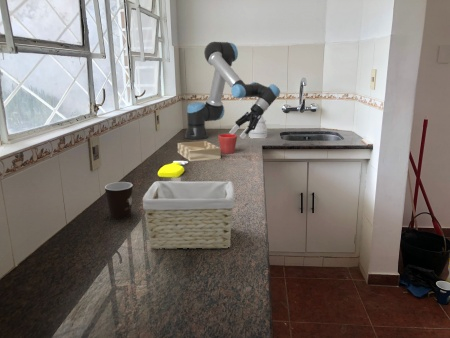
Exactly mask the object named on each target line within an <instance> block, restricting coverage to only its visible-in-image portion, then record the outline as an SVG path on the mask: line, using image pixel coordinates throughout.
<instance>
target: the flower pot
mask: <svg viewBox="0 0 450 338" xmlns="http://www.w3.org/2000/svg"><path fill="white" fill-rule="evenodd" d="M217 136H218V144H219V148H221V154H225V155H226V154H233V153H235V150H236V144H237V140H238V135H236V134H230V133H223V134H218V135H217Z"/></svg>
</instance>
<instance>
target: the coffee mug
mask: <svg viewBox="0 0 450 338" xmlns="http://www.w3.org/2000/svg"><path fill="white" fill-rule="evenodd" d="M133 185H134V184H132V182H126V181H118V182H112V183H111V182H110V183H107V184H106V185H105V186H104V190H105V196H106V199H107V205H108V209H109V215H110V217H111V219H116V220H121V219H127V218H129V217H130V216H131V215H132V206H133V205H132V202H133Z"/></svg>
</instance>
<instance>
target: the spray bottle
mask: <svg viewBox="0 0 450 338" xmlns="http://www.w3.org/2000/svg"><path fill="white" fill-rule="evenodd" d="M188 163H189V160H173V161H172V163H168V164H165V165H163V166H162V167H160V168H159V170H158V172H157V176H158V177H159V178H179V177H180V176H181V175H182V174H183V173H184V172H185V168H184V166H186V164H188ZM182 165H184V166H182Z"/></svg>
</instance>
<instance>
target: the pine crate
mask: <svg viewBox="0 0 450 338" xmlns="http://www.w3.org/2000/svg"><path fill="white" fill-rule="evenodd" d="M177 153H178V154H179V155H180V156H182V157H183V158H184V159H186V160H187V161H188V162H198V161H209V160H218V159H221V156H222V155H221V154H222V153H221V148H220V146H217V145H215V144H213V143H212V142H209V141H207V140H200V141H199V140H198V141H188V142H177Z"/></svg>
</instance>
